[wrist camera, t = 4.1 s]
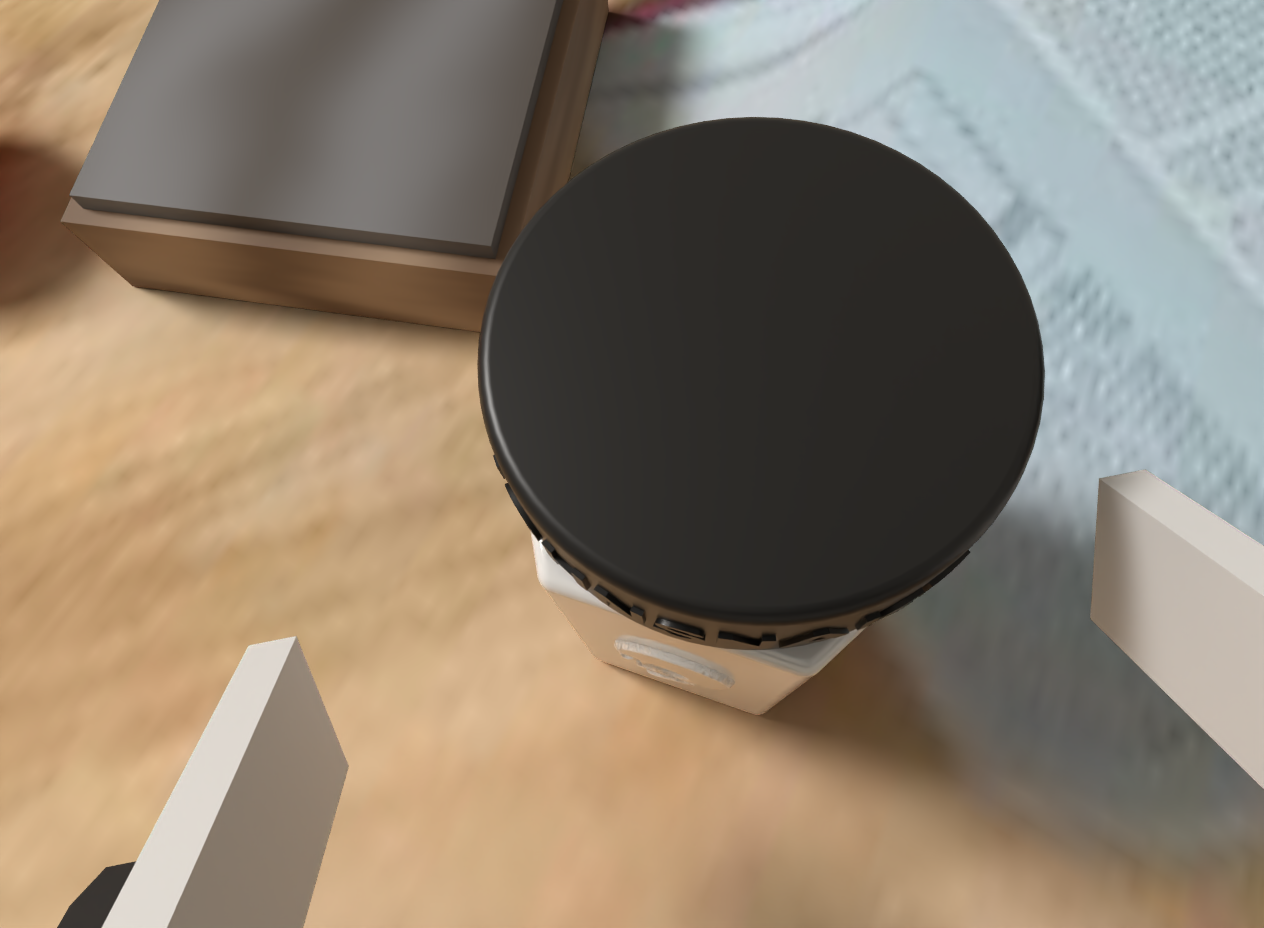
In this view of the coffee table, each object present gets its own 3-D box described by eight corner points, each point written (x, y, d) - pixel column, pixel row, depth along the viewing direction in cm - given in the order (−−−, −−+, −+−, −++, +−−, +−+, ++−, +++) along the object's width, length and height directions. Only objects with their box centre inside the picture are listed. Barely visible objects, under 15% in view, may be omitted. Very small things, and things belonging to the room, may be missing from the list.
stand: (608, 10, 30) (598, -98, 27) (530, 338, 26) (505, 265, 22) (260, -21, 32) (203, -128, 28) (132, 286, 27) (45, 208, 24)
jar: (512, 639, 23) (351, 508, 12) (615, 374, 26) (562, 56, 14) (843, 755, 22) (1019, 732, 10) (917, 463, 24) (1125, 188, 13)
